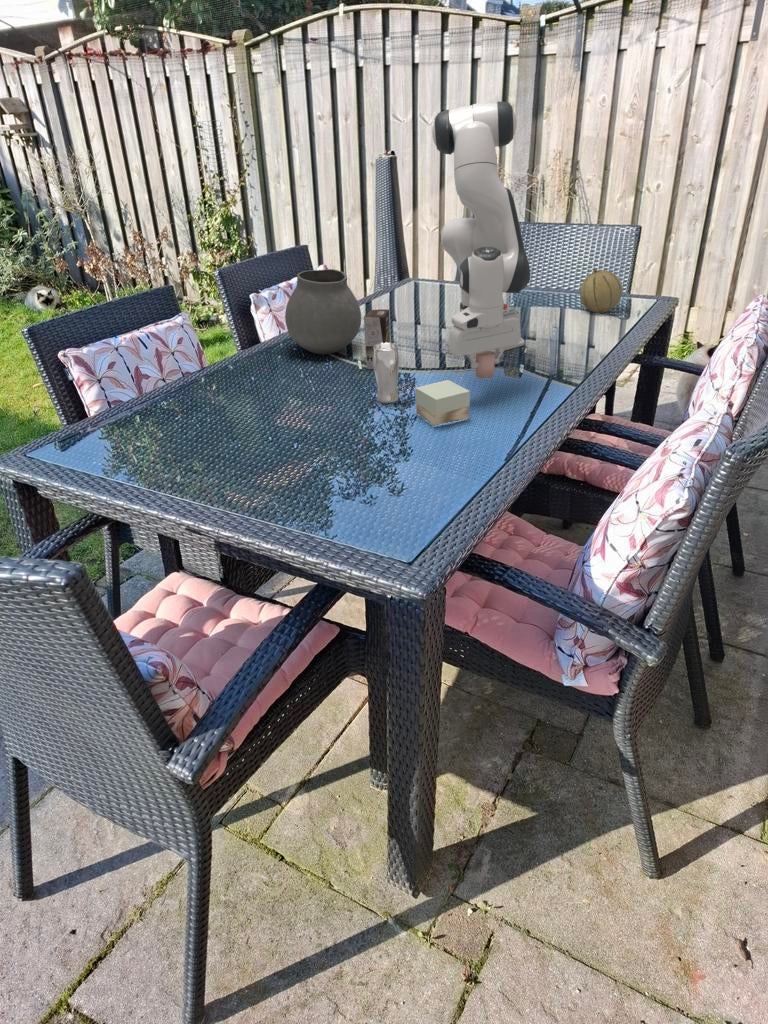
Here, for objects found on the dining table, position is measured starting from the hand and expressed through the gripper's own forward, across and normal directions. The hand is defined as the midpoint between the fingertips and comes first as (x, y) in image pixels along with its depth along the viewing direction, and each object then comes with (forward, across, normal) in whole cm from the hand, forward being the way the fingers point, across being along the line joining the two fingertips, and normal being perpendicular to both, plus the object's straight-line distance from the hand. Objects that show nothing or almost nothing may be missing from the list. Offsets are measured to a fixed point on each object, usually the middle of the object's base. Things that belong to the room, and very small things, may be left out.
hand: (484, 365), depth 188 cm
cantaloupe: (+10, -78, -50) cm, 93 cm away
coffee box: (+9, +15, -38) cm, 42 cm away
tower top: (+4, +17, +8) cm, 19 cm away
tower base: (+8, +17, +8) cm, 21 cm away
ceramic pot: (+9, +25, -60) cm, 66 cm away
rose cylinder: (+3, 0, 0) cm, 3 cm away
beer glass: (+8, +25, -10) cm, 28 cm away
